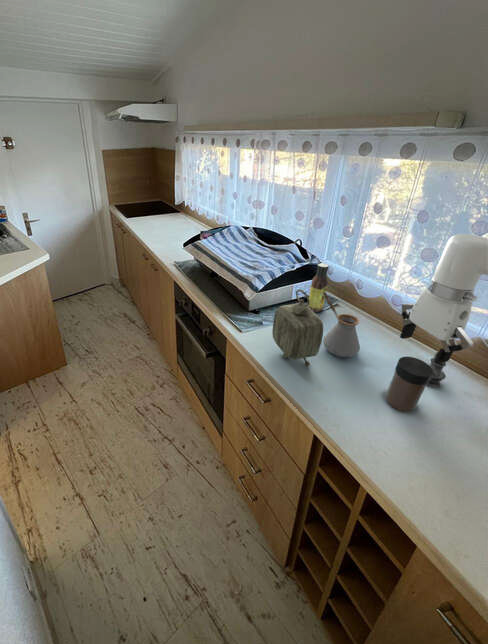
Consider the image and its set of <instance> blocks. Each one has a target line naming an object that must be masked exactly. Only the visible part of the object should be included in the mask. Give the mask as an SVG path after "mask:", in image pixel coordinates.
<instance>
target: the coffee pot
mask: <svg viewBox="0 0 488 644" xmlns="http://www.w3.org/2000/svg"><path fill="white" fill-rule="evenodd" d="M321 294H322V293H321ZM321 294H320V295H321ZM323 294H324V295H325V300H326V301H327V304H328V306H329V307H330V310H331V311H332V312H333V314H334V316H335V318H336V319H337V322H336V323H335V325H334V326H333V327H332V328H331V329H330V330H329V331H328V332H327V333H326V334H325V335H324V336H323V337H322V342H323V346H324V347H325V349H326V350H327V351H328V352H329V353H331V354H332V355H334V356H335V357H338V358H349V357H354V356H356V355H358V353H360V352H359V351H360V350H361V345H360V340H359V337H358V332H357V328H356V327H357V325H359V323H360V320H359V318H358V317H356V316H355V315H352V314H349V313H341V314H340V313H339V314H338V312H337V311H336V308H335V306H334V304H333V302H332V301H331V299H330V298H329V295H327V291H326V292H323ZM321 296H323V295H321Z"/></svg>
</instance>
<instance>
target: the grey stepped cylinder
mask: <svg viewBox="0 0 488 644" xmlns="http://www.w3.org/2000/svg"><path fill="white" fill-rule="evenodd" d="M438 352H439V350H437V351H436V352H435V354H434V356H433V357H432V358H430V363H429V364H428V365H429V366H430V367H431V368H432V369H433V375H432V377H431V379H430V381H429V383H428V384H427V385H426V387H430V388H439V387H441V383H440V382H442V381H443V380H445V379H446V378H447V375H446V374H445V372H444V371H443V369H444V367H446V366H447V362H442V363H438V364H437V363H435V361H434V360H435V358H436V356H437V354H438Z"/></svg>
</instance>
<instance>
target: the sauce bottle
mask: <svg viewBox="0 0 488 644" xmlns="http://www.w3.org/2000/svg"><path fill="white" fill-rule="evenodd" d="M329 266H330V265H328V264H327V263H321V262H320V263H318V264H317V267H316V269H317V270H316V274H315V275H314V277H313V278H312V279H311V285H310V289H309V293H308V294H309V295H308V297H309V301H310V304H309V305H308V307H309V308H310V309H311V310H312V311H313V312H314V313H317V312H319V313H320V312H321V311H322V310H323V307H324V305H325V301H326V298H325V295H324V294H323V292H326V293H327V292H328V286H329V283H328V282H329V281H328V270H329ZM321 293H322V294H321ZM320 294H321V295H323V296H321V295H320ZM307 304H308V302H306V305H307Z"/></svg>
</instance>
